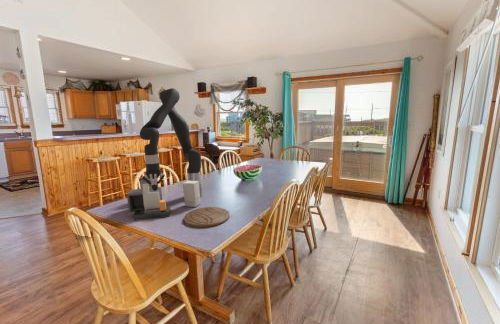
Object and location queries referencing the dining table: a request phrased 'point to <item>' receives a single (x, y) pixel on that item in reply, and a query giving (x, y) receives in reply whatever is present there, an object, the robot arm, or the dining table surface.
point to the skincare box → (191, 193)
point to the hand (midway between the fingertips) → (155, 190)
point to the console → (151, 213)
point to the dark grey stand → (138, 199)
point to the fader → (162, 205)
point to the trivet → (206, 217)
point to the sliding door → (150, 198)
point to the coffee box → (145, 183)
